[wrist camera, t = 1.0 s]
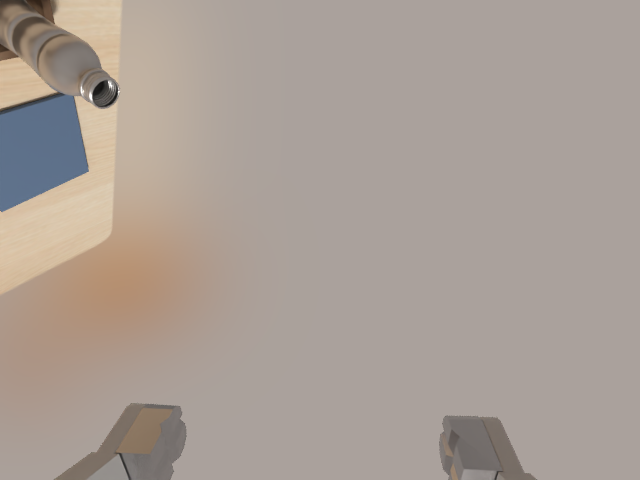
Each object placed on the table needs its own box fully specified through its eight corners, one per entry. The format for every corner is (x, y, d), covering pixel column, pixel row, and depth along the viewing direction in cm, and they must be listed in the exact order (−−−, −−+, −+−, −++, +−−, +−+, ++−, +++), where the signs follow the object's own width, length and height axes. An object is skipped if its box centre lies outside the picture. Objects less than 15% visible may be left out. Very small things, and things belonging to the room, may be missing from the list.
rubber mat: (-1, 209, 61) (1, 212, 61) (-46, 125, 47) (-43, 127, 47) (86, 169, 71) (88, 171, 71) (69, 90, 58) (72, 93, 58)
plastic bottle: (-43, 30, 42) (81, 128, 40) (-67, -37, 37) (74, 71, 35) (16, 24, 46) (131, 111, 44) (2, -36, 41) (130, 60, 39)
